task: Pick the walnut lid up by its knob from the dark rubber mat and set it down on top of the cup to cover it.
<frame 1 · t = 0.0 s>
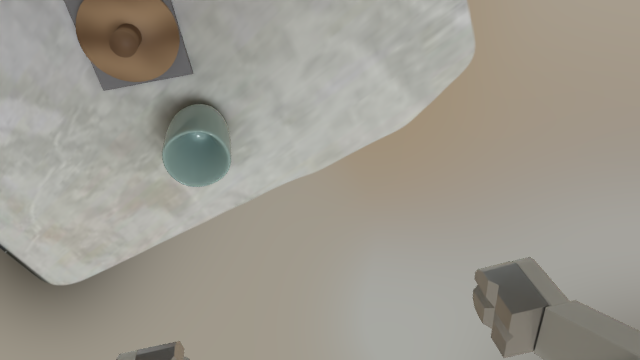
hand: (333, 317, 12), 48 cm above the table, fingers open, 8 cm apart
mat: (131, 32, 51), on the table
cup: (200, 122, 59), on the table
lid: (130, 33, 51), point 1 cm above the table, touching mat
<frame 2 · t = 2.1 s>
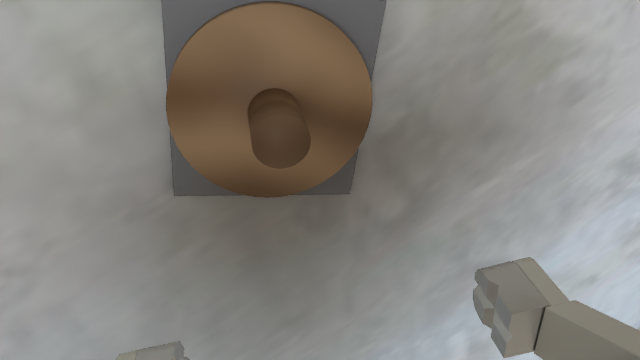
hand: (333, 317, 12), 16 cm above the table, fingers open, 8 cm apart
mat: (270, 101, 25), on the table
lid: (271, 105, 24), point 1 cm above the table, touching mat
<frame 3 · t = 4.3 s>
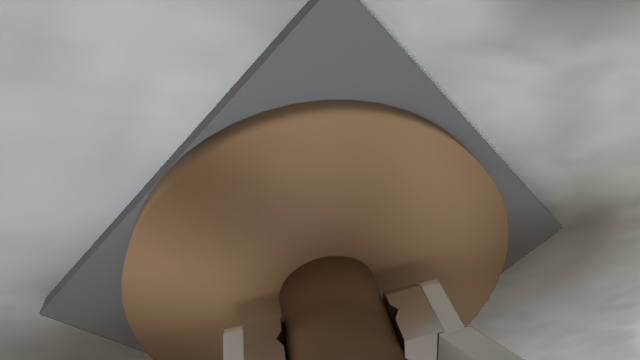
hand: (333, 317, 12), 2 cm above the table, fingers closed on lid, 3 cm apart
mat: (317, 254, 14), on the table
lid: (321, 267, 13), point 1 cm above the table, touching gripper, mat
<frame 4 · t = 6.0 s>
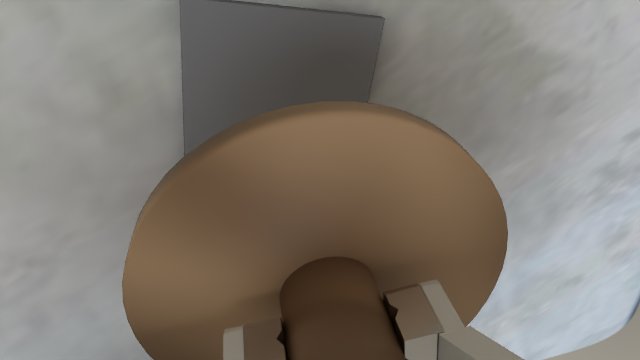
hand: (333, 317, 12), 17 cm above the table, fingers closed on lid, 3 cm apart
mat: (277, 108, 27), on the table
lid: (321, 268, 13), point 15 cm above the table, touching gripper
when the fingers open (13 cm above the table, at t = 7.9 s): lid drops 1 cm, resting on cup.
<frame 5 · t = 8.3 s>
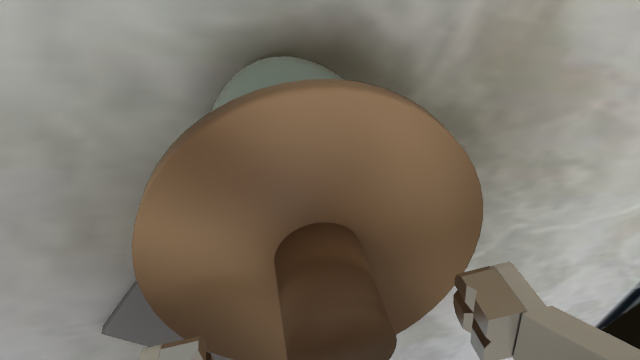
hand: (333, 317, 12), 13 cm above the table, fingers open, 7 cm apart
mat: (224, 295, 29), on the table
cup: (280, 110, 23), on the table, touching lid
lid: (313, 236, 15), point 10 cm above the table, touching cup
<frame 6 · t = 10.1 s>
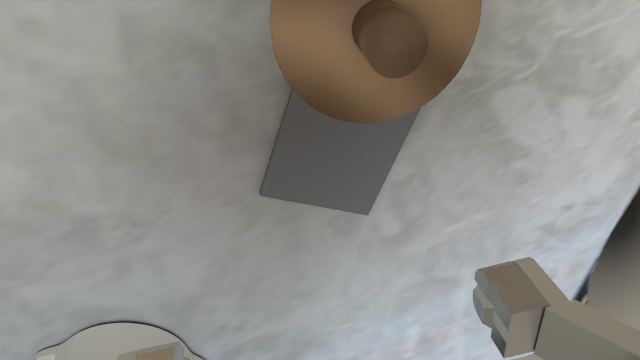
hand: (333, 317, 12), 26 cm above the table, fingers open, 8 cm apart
mat: (336, 149, 39), on the table
lid: (373, 22, 23), point 10 cm above the table, touching cup
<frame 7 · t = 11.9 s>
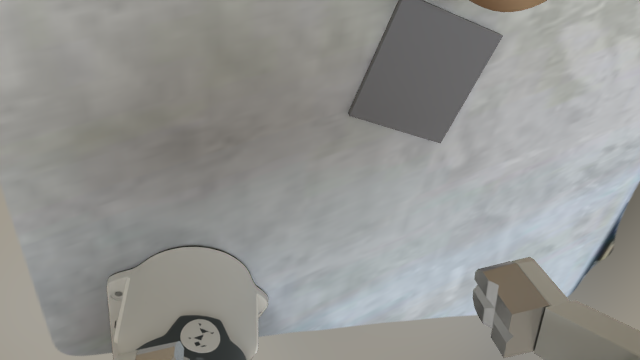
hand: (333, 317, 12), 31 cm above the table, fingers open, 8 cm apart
mat: (422, 74, 43), on the table
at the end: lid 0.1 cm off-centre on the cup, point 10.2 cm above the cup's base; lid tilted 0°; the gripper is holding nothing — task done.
